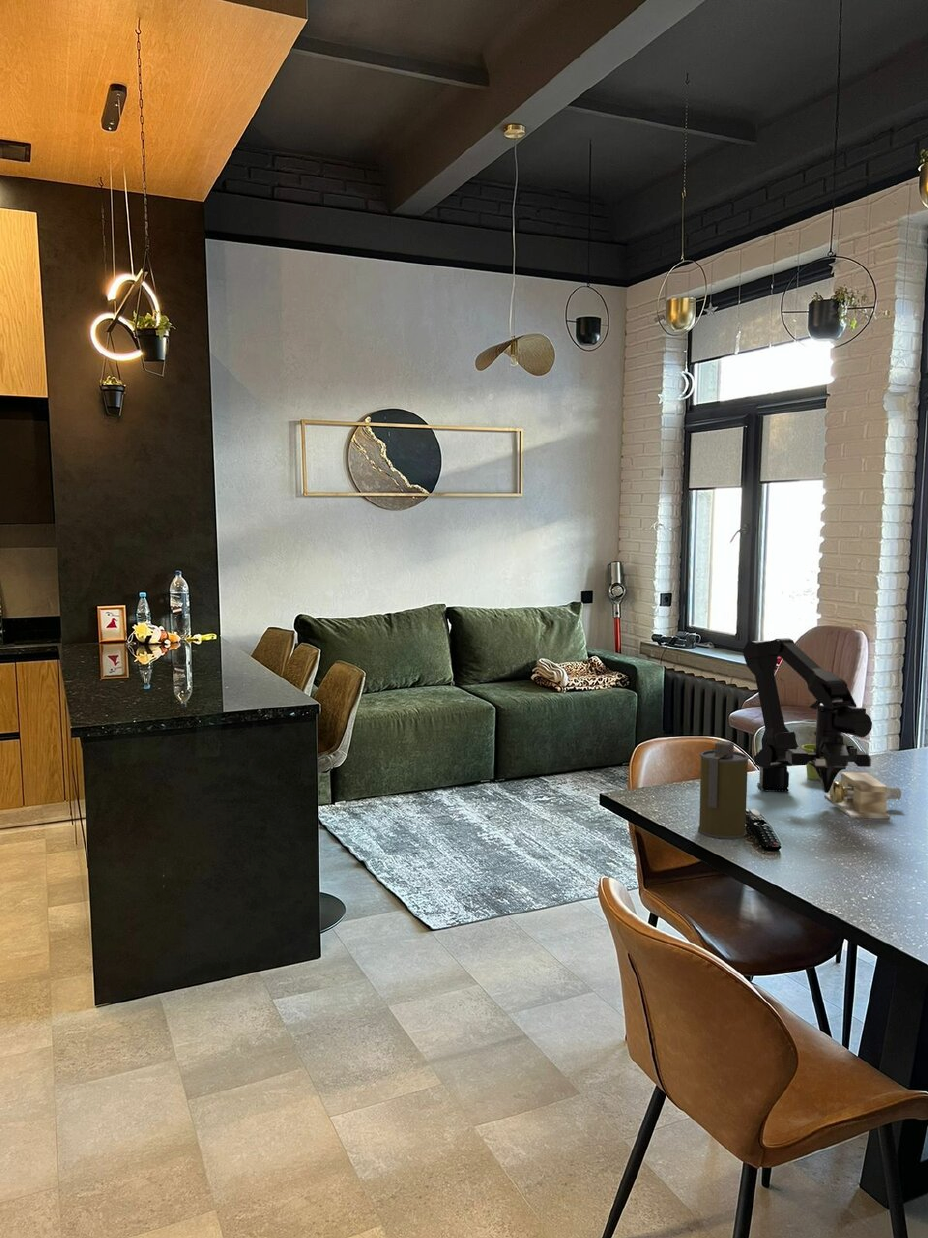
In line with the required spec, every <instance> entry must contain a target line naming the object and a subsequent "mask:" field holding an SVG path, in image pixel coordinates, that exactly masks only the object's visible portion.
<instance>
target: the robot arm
mask: <svg viewBox="0 0 928 1238" xmlns="http://www.w3.org/2000/svg"><path fill="white" fill-rule="evenodd" d="M742 654H743V658H744V661H745V664H746V666H747V668H748V669H749V671H751V673H752V674H753V675H754V678H755V679H754V680H755V684H756V689H757V693H758V699H759V704H760V709H761V713H762V714H761V715H762V720H763V725H764V732H763V734H762V737H761V740H760V741H761V749H760V750H759V751H758V752H757V753H756V754H755V755H754V756H753V761H754V765H755V766H757V767H759V781H758V782H757V786H758V787H759V788H760V789H761V790H762V791H763V792H789V785H790V784H789V781H790V772H789V771H788V767H792V766H806V764H807V763H809V764H810V765H811V766H813V767H814V768H815V770H816V772H817V774H818V776H819V779H820V780H819V781H820V782H819V783H820V784H821V787H822V789H823V793H825V794H830V792H829V791H830V788H831V786H832V784H833V782H835V779H836V777H837V776H838V774H839V772H840V773H841V771H842V770H846V768H847V766H848V765H849V763H854V764H855V766H857V767H865V768H866V767H867V768H869V767H870V768H871V766H872V763H871V762H872V759H871V756H870V755H869V754H868V753H866V752H864V751H863V750H858V747H857V746H856V745H854V744H853V745H852V744H848V745H845V744H844V736H843V735H842V734H845V735H850V736H853V737H859V738H866V737H867V736H868V735H869V734H870V733H871V730H872V728H873V722H872V718H871V717H870V715H869V714H868V713H867V709H866V707H857V703H856V701H855V699H854V697H853V695H852V694H851V691H850V690H849V688H848V684H847V682H846V681H845V680H844V679H843V678H842V677H840V676H839V675H837V674H835V673H834V672H833V673H832V672H830V671H827V670H825V669H823V668H822V667H821V666H819V665H818V664H817V663H816V662H815V661H814V660H813V659H811V658H810V656H809V655H808V654H807V653H805V652H804V651H803V650H802V649H801V648H800V647H799V646H797V645H796V644H795V641H794V640H793V639H790V638H789V637H788V638H786V637H785V638H784V637H783V638H775V639H773V640H756V641H755V640H753V641H751V640H750V641H748V642H747V643H746V644H745V646H744V647H743V648H742ZM779 657H780V658H781V659H782V660H783V661H784V662H785V663H786V664H787V665H789V667H790V668H792V670H793V671H795V672H796V674H797V675H799V677H801V678H802V680H804V681H805V682H806V684H807V689H808V691H809V692H810V694H811V695H812V696H813V698H814V699H815V701H814V702H813V703H812V704H810V705H809V708H810V709H813V710H816V720H815V721H816V725H815V726H816V727H815V730H814V736H815V744H816V747H814V752H815V754H814V753H807V752H805V751H804V750H803V748H802V749H798V748H799V745H798V743H797V738H796V737H797V736H796V733H795V731H789V729H788V728H787V727H786V724H785V721H784V715H783V711H782V705H781V700H780V695H779V691H778V685H777V680H776V676H775V675H776V674H775V671H776V668H777V665H778V663H779ZM820 757H824V758H820ZM809 761H810V762H809Z"/></svg>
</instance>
